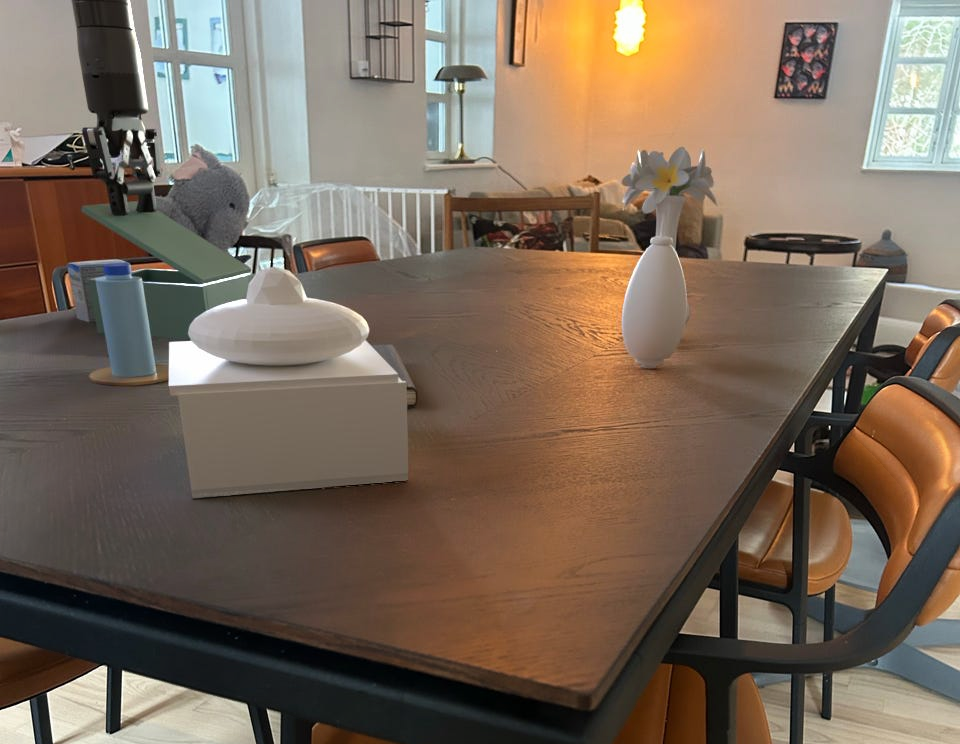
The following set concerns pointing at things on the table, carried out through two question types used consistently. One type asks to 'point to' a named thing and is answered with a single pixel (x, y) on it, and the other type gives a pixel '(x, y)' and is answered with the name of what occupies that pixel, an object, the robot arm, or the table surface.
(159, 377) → the coaster
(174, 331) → the cool box
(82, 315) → the medicine box
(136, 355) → the water bottle
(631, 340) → the white teardrop bottle
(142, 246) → the lid
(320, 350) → the white knob-topped box
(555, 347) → the table surface
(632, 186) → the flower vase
